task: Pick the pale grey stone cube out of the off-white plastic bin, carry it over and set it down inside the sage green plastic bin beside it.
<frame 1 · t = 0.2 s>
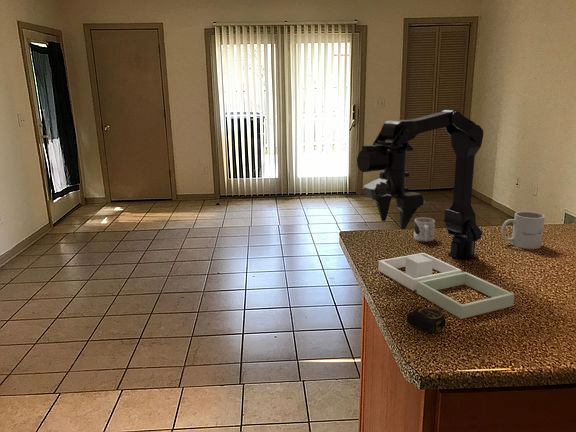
hand: (393, 224, 131), 14 cm above the counter, fingers open, 9 cm apart
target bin: (463, 299, 116), on the counter
mug 2: (424, 240, 162), on the counter
mug: (519, 244, 156), on the counter
tape measure: (426, 330, 102), on the counter
stone cube: (418, 267, 130), in the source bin
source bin: (418, 275, 131), on the counter
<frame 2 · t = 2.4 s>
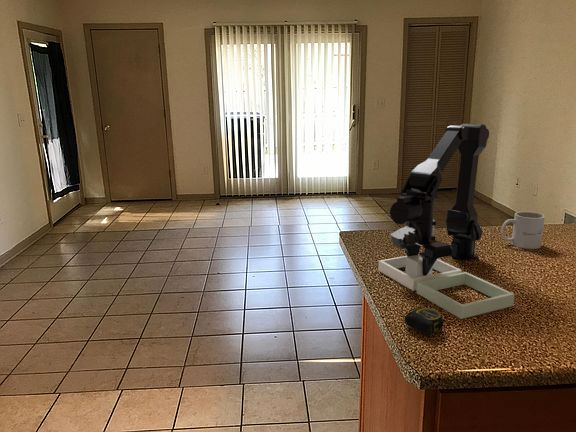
hand: (418, 272, 131), 1 cm above the counter, fingers closed on stone cube, 5 cm apart
stone cube: (418, 267, 130), in the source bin, touching gripper
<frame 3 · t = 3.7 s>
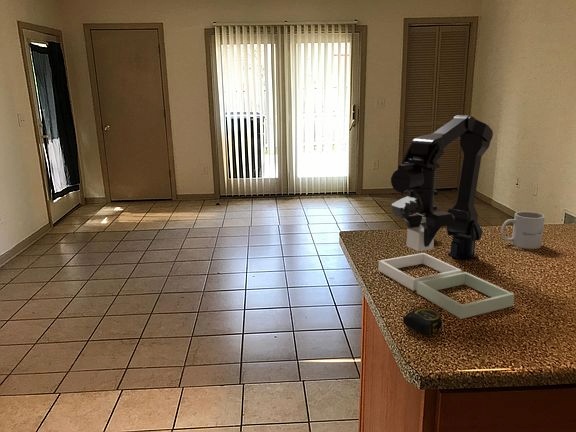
hand: (420, 243, 129), 9 cm above the counter, fingers closed on stone cube, 5 cm apart
stone cube: (420, 238, 128), point 11 cm above the counter, touching gripper
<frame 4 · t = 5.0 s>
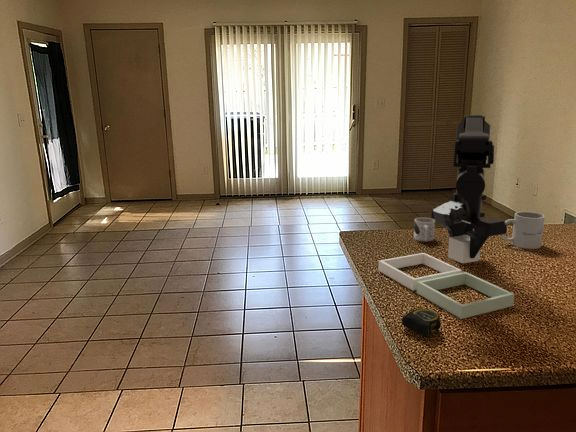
hand: (464, 254, 114), 11 cm above the counter, fingers closed on stone cube, 5 cm apart
stone cube: (464, 248, 113), point 13 cm above the counter, touching gripper
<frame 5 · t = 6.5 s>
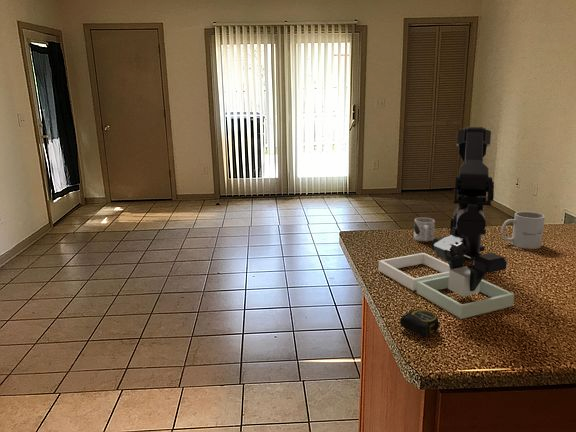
hand: (464, 286, 115), 3 cm above the counter, fingers closed on stone cube, 5 cm apart
stone cube: (464, 281, 115), point 5 cm above the counter, touching gripper
when the fingers open (2 cm above the counter, at t = 7.5 s): stone cube drops 2 cm, resting in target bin.
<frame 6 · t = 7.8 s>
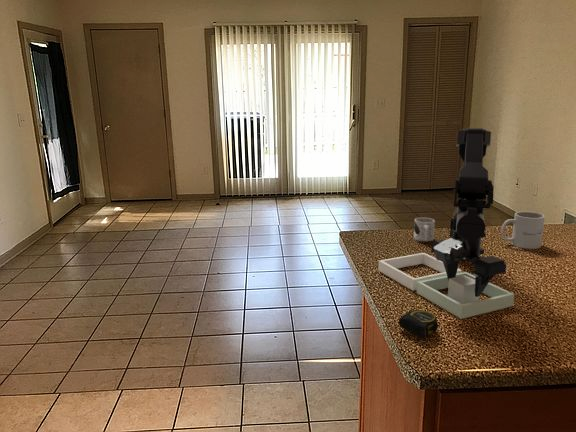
hand: (463, 289, 115), 2 cm above the counter, fingers open, 8 cm apart
stone cube: (463, 290, 115), in the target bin
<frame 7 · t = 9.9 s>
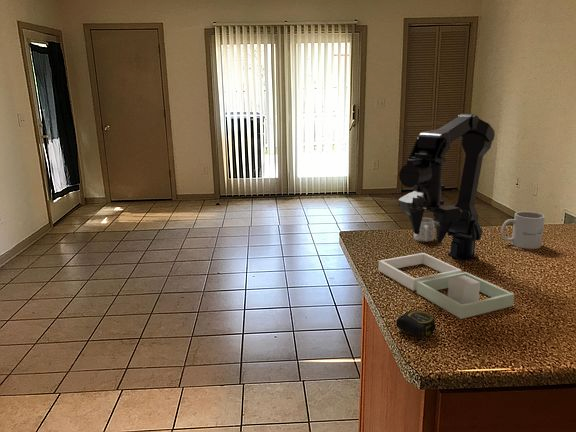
hand: (427, 238, 129), 11 cm above the counter, fingers open, 9 cm apart
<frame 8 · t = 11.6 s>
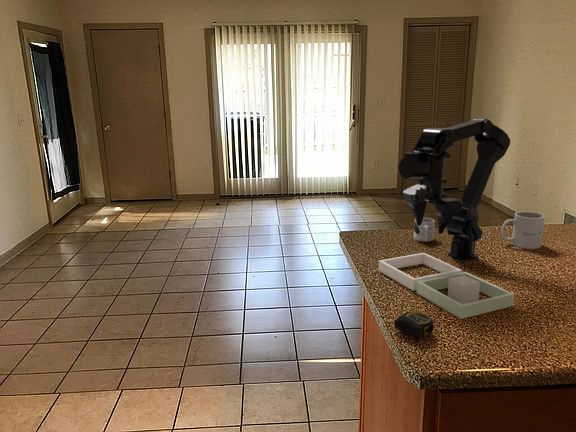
hand: (429, 229, 135), 11 cm above the counter, fingers open, 9 cm apart
at the end: stone cube inside the target area on the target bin (0.1 cm from its centre), point 2.4 cm above the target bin's base; stone cube tilted 0°; the gripper is holding nothing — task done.
